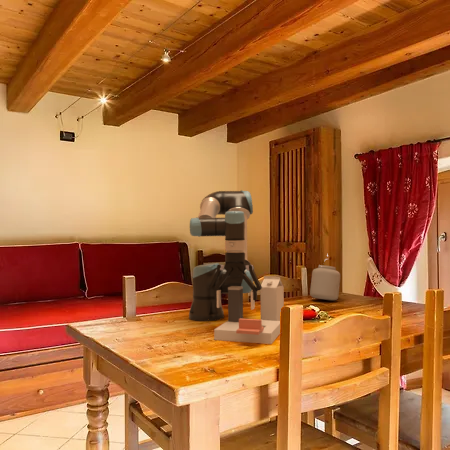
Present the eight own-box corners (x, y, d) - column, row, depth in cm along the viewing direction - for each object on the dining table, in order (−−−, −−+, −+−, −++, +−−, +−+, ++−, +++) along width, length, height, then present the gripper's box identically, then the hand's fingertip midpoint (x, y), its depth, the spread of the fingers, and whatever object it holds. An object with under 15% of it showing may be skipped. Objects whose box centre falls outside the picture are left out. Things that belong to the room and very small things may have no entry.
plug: (231, 319, 164) (231, 286, 165) (243, 319, 163) (242, 286, 163) (228, 321, 160) (227, 287, 160) (239, 322, 159) (239, 287, 159)
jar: (325, 297, 240) (324, 252, 241) (348, 300, 229) (347, 253, 230) (304, 301, 228) (303, 254, 228) (327, 304, 217) (327, 255, 217)
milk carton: (268, 320, 178) (267, 275, 178) (284, 322, 174) (283, 275, 174) (260, 324, 172) (260, 276, 172) (276, 325, 168) (276, 277, 168)
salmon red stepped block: (242, 328, 148) (242, 316, 148) (263, 329, 145) (263, 317, 145) (236, 333, 140) (236, 321, 141) (258, 334, 138) (258, 322, 138)
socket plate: (231, 327, 166) (231, 318, 166) (282, 330, 160) (282, 321, 160) (214, 339, 147) (214, 329, 147) (271, 343, 141) (271, 333, 141)
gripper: (200, 252, 162) (201, 308, 162) (264, 252, 155) (265, 311, 154) (207, 251, 169) (208, 305, 169) (269, 251, 162) (269, 307, 161)
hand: (235, 308), depth 162 cm, fingers open, 13 cm apart
